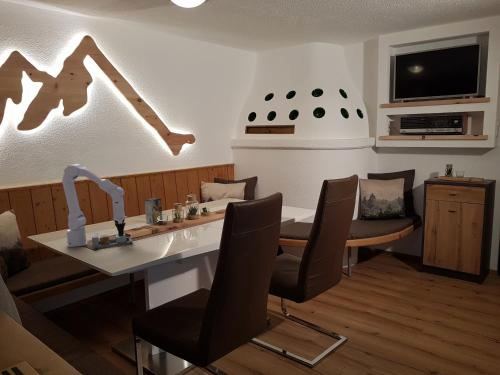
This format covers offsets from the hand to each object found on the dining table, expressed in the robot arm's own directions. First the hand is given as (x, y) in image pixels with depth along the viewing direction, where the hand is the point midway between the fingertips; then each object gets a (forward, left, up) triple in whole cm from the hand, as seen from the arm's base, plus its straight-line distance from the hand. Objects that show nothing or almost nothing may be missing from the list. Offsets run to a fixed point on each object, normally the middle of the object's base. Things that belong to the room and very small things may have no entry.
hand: (120, 233), depth 211 cm
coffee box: (+23, +43, -5) cm, 49 cm away
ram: (0, 0, -5) cm, 5 cm away
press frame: (-5, 0, -5) cm, 7 cm away
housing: (-8, 0, -5) cm, 10 cm away
